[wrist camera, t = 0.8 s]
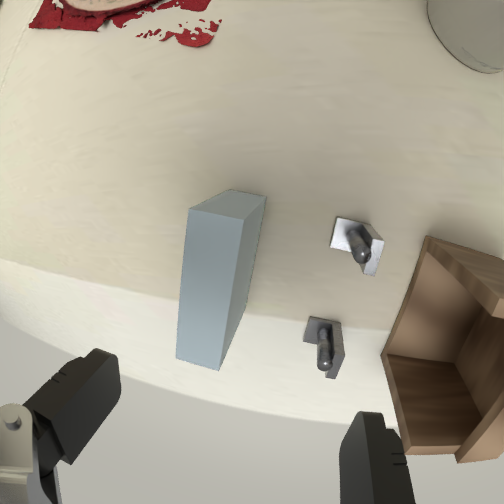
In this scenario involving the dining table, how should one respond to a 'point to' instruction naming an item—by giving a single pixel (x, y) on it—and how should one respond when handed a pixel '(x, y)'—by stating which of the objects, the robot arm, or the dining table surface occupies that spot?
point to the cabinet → (450, 355)
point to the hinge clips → (367, 255)
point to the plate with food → (116, 16)
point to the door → (216, 274)
